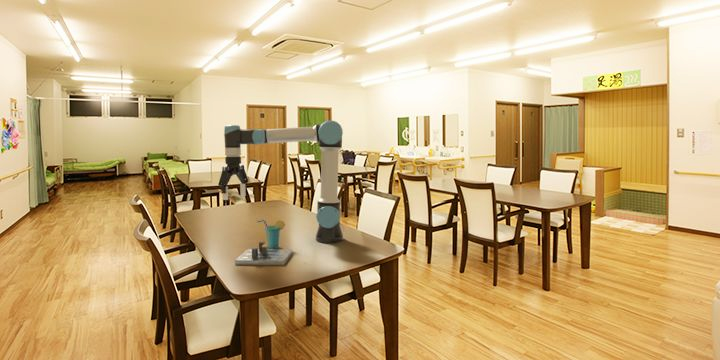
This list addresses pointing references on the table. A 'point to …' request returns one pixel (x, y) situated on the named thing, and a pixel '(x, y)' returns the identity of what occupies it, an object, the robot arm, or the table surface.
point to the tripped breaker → (264, 249)
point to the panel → (264, 256)
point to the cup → (273, 233)
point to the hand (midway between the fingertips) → (234, 197)
